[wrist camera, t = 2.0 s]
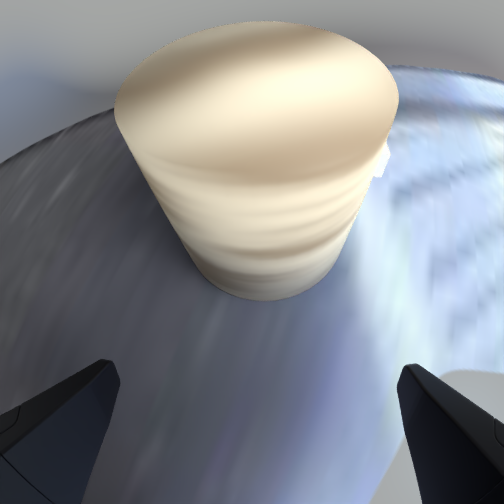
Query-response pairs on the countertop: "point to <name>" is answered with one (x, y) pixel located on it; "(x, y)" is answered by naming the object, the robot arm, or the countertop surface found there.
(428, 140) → the countertop surface
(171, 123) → the birch canister
